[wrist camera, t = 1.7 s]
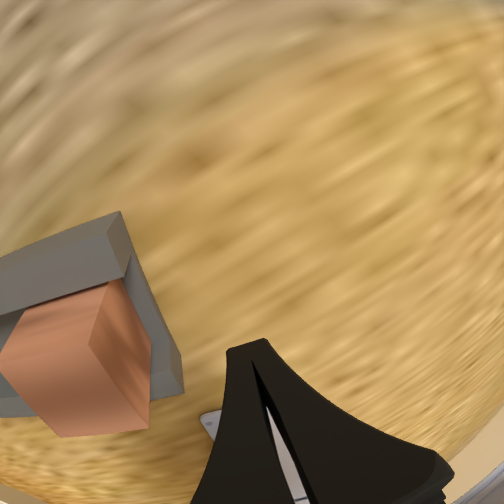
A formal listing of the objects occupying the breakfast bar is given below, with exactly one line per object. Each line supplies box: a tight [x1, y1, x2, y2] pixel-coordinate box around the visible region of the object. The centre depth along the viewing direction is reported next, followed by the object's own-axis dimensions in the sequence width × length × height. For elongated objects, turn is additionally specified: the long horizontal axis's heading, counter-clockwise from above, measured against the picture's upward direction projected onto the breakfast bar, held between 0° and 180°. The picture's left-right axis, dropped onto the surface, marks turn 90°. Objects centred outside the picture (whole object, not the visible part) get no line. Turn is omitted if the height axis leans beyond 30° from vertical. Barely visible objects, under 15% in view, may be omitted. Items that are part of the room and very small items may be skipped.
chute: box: [0, 211, 184, 418], centre depth 13 cm, size 10×18×3 cm, turn 102°
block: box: [0, 278, 152, 438], centre depth 12 cm, size 5×5×6 cm
